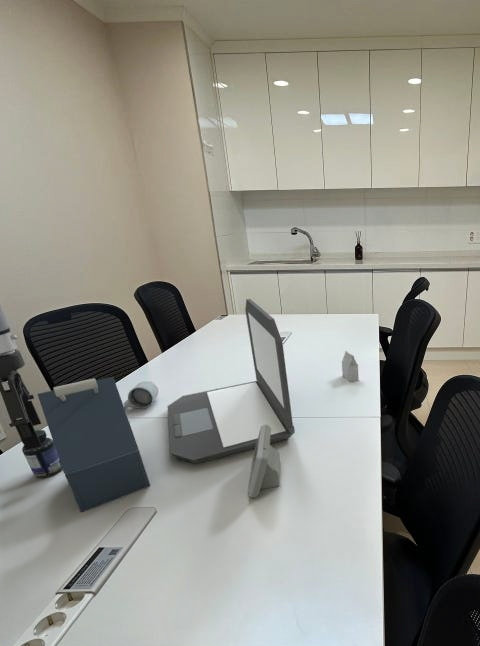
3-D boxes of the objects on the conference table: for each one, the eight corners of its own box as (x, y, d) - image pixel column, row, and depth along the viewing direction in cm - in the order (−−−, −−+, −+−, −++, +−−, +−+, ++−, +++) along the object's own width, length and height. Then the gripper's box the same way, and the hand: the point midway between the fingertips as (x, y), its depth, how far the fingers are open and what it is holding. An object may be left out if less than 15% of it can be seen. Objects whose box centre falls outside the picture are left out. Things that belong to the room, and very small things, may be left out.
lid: (38, 394, 82) (28, 384, 75) (113, 377, 90) (111, 366, 82) (64, 473, 81) (57, 470, 73) (138, 449, 88) (138, 444, 81)
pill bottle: (63, 461, 102) (48, 425, 98) (65, 472, 98) (49, 434, 94) (34, 471, 99) (16, 434, 94) (34, 482, 95) (16, 444, 90)
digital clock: (255, 458, 101) (249, 423, 97) (289, 457, 101) (284, 422, 97) (235, 500, 87) (226, 461, 82) (275, 499, 87) (268, 460, 82)
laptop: (168, 405, 131) (142, 307, 118) (261, 385, 144) (247, 295, 131) (174, 473, 96) (137, 345, 83) (295, 439, 109) (281, 324, 96)
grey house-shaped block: (349, 381, 146) (348, 356, 142) (342, 375, 151) (341, 351, 147) (358, 379, 147) (357, 355, 143) (351, 373, 153) (349, 349, 149)
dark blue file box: (75, 475, 97) (61, 442, 93) (137, 455, 104) (127, 423, 100) (80, 512, 85) (65, 475, 80) (150, 485, 92) (139, 451, 88)
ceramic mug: (162, 397, 137) (156, 377, 134) (155, 407, 130) (149, 386, 127) (129, 401, 135) (122, 381, 132) (121, 411, 128) (114, 390, 125)
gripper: (16, 363, 79) (54, 451, 87) (20, 337, 97) (52, 412, 105) (-35, 373, 74) (11, 464, 83) (-20, 344, 92) (16, 421, 101)
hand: (34, 435), depth 94 cm, fingers open, 13 cm apart
